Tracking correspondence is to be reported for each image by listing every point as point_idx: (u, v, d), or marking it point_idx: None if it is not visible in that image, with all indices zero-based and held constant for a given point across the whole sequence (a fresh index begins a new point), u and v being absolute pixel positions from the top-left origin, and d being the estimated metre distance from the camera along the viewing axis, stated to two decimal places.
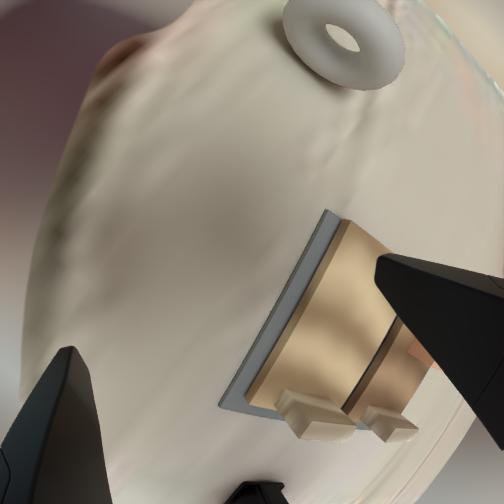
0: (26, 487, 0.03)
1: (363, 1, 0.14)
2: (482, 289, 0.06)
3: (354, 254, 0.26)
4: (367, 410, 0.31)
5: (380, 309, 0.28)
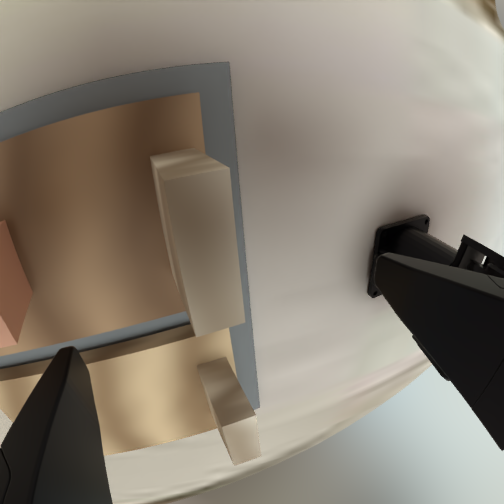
0: (26, 487, 0.03)
1: None
2: (482, 289, 0.06)
3: None
4: None
5: None
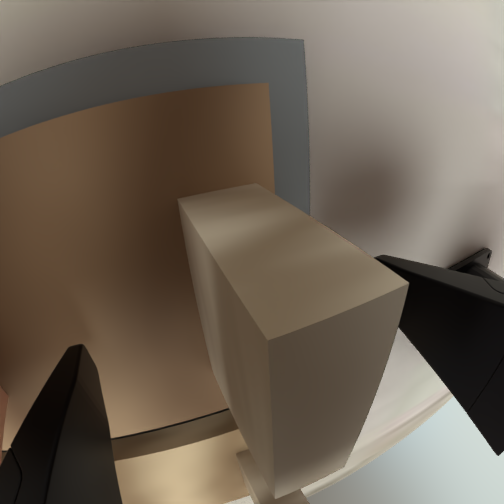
0: (38, 487, 0.03)
1: None
2: (477, 293, 0.06)
3: None
4: None
5: None
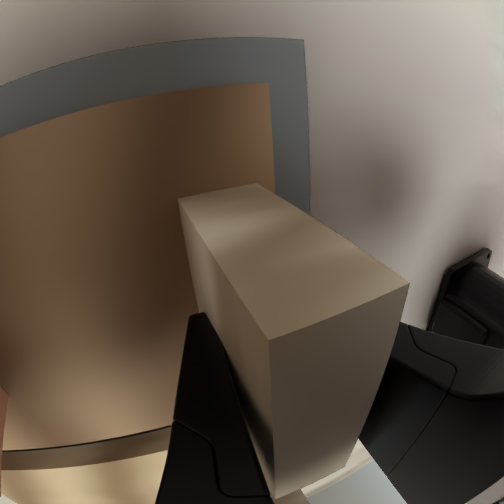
0: (234, 452, 0.04)
1: None
2: None
3: None
4: None
5: (60, 490, 0.10)
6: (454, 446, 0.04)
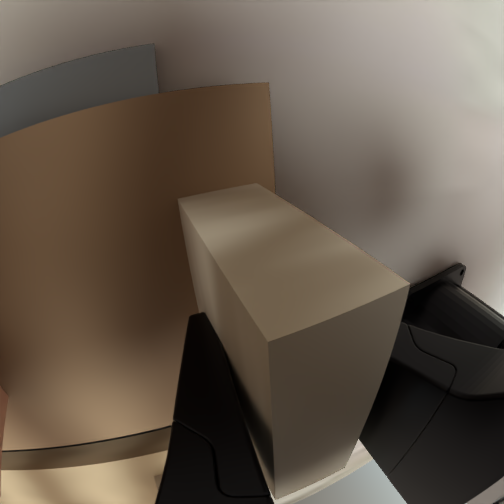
0: (234, 451, 0.04)
1: None
2: None
3: None
4: None
5: (4, 490, 0.09)
6: (454, 446, 0.04)
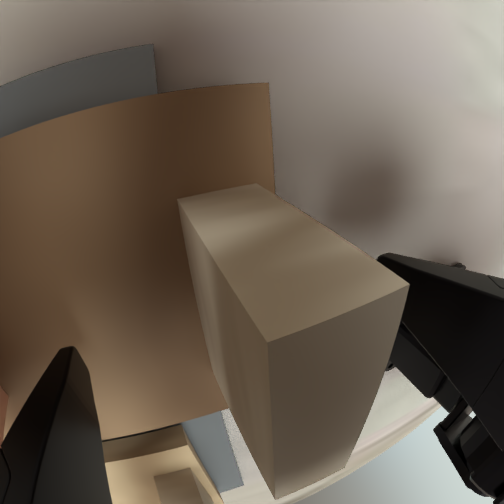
0: (26, 487, 0.03)
1: None
2: (482, 289, 0.06)
3: None
4: None
5: None
6: None
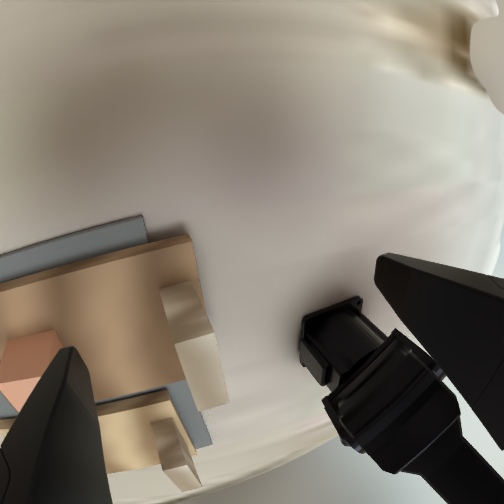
0: (26, 487, 0.03)
1: None
2: (482, 289, 0.06)
3: None
4: None
5: None
6: None
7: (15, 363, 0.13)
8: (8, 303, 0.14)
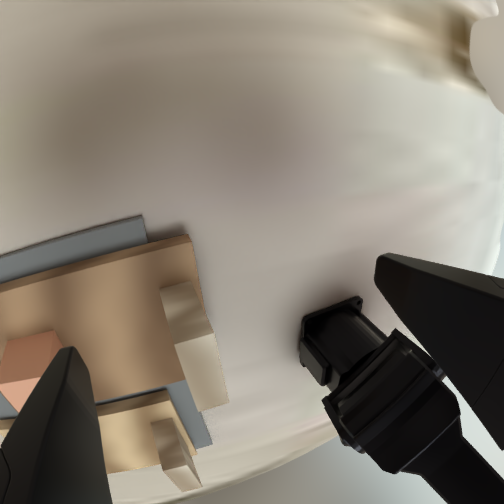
0: (26, 487, 0.03)
1: None
2: (482, 289, 0.06)
3: None
4: None
5: None
6: None
7: (15, 363, 0.13)
8: (8, 304, 0.14)
